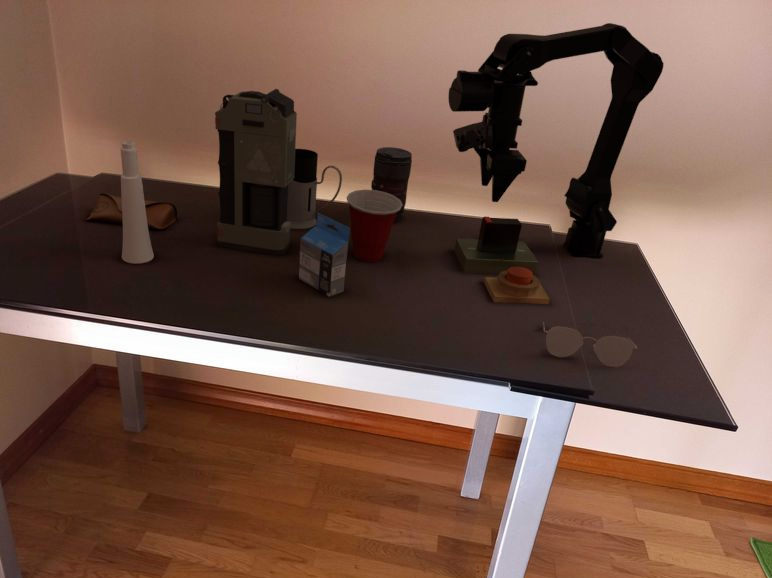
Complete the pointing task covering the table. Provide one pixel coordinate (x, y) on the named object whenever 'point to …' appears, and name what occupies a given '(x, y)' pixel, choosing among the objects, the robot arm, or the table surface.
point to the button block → (515, 290)
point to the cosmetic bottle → (133, 209)
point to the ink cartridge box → (324, 256)
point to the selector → (499, 235)
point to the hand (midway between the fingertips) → (489, 193)
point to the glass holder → (305, 190)
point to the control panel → (492, 258)
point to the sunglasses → (606, 348)
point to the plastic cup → (371, 222)
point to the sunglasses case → (156, 212)
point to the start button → (519, 275)
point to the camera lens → (392, 173)
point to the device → (255, 170)
